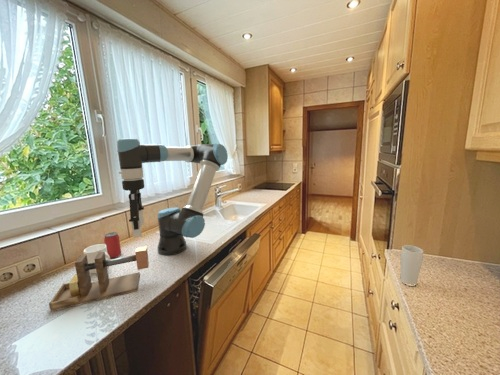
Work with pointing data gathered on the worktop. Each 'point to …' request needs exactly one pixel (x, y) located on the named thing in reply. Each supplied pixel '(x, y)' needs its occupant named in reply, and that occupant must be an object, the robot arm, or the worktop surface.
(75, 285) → the spacer
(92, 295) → the wooden stand
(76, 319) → the worktop surface
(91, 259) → the mug
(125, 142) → the robot arm
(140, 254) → the mallet
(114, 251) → the beer can
